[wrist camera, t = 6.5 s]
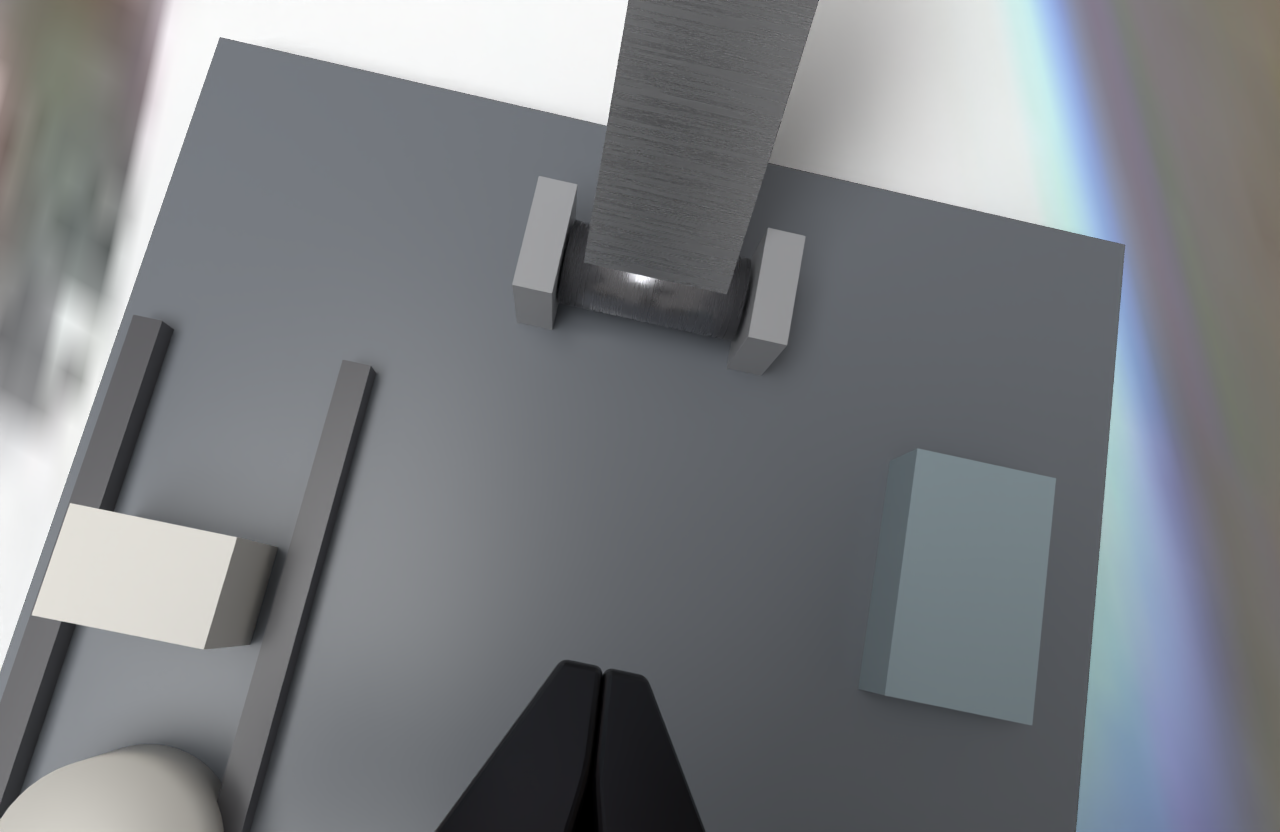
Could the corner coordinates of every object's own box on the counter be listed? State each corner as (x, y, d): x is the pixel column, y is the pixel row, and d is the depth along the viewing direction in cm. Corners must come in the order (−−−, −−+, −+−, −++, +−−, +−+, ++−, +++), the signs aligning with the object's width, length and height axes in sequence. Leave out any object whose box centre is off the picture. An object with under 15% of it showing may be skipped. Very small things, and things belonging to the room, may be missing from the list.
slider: (249, 644, 19) (203, 649, 16) (100, 615, 18) (31, 615, 16) (278, 547, 19) (237, 537, 17) (133, 517, 19) (70, 502, 16)
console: (987, 1372, 18) (1099, 1571, 14) (-131, 1180, 17) (-323, 1340, 14) (1089, 267, 24) (1191, 201, 20) (241, 74, 23) (178, -35, 19)
